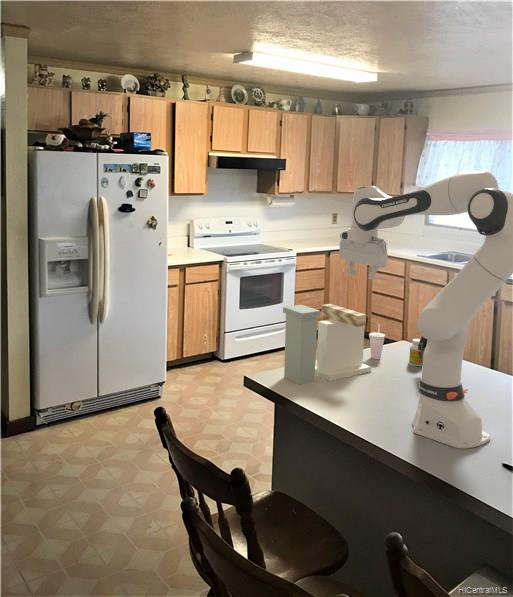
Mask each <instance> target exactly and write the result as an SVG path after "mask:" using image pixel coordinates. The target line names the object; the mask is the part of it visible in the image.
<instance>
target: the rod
mask: <svg viewBox="0 0 513 597" xmlns="http://www.w3.org/2000/svg"><path fill="white" fill-rule="evenodd" d="M320 316H323V317H326V318H330V320H331V319H335V320H338V321H341V322H344V323H347V324H350V325H353V326H356V327H360V326H366V325H367V314H366V313H362V312H358V311H355V310H352V309H349V308H345V307H343V306H342V307H341V306H338V305H336V304H333V303H326V304H322V305H321V313H320Z"/></svg>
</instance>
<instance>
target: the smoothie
mask: <svg viewBox="0 0 513 597" xmlns="http://www.w3.org/2000/svg"><path fill="white" fill-rule="evenodd" d="M380 329H381V323H378V326H377V332H370V333H368V337H369V343H370V344H369V345H370V346H369V347H370V358H371V359H373V360H380V359H381V358H382V353H383V347H384V341H385V339H386V334H385V333H381V332H380V331H381V330H380Z"/></svg>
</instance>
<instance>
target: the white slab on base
mask: <svg viewBox="0 0 513 597" xmlns="http://www.w3.org/2000/svg"><path fill="white" fill-rule="evenodd" d="M365 328H366V327H365V326H360V327H356V326H353V325H350V324H347V323H344V322H341V321H338V320H335V319H331V318H330V319H324V320H320V321H318V320H317V347H316V364H315V376H317V377H320V378H321V379H323V380H326V381H328V382H332V381H335V380H340V379H345V378H350V377H353V376H358V374H359V375H363V374H367V373H366V372H368V373H371V371H372V367H371V366H369V365H367V364H365V363H364V362H363V361H364V346H365V345H364V343H365V342H364V341H365ZM362 373H363V374H362Z"/></svg>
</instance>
